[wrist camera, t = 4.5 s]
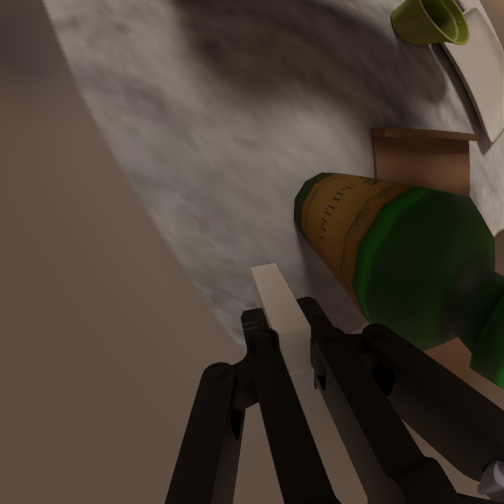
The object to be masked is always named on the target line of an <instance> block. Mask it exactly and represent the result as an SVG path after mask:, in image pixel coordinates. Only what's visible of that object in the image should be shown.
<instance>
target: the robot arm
mask: <svg viewBox="0 0 504 504" xmlns="http://www.w3.org/2000/svg"><path fill="white" fill-rule="evenodd" d="M251 273H252V280H253V286H254V292H255V298H256V305H257V309H252V310H247V311H243V313H242V316H241V322H242V327H243V332H244V336H245V341H246V346H247V354H246V356H245V357H244V359H243V360H241V361H240V362H238V363H236V364H234V365H230V364H228V363H223V362H219V363H214V364H212V365H210V366H208V367H207V368H206V369H205V370H204V372H203V374H202V377H201V380H200V384H199V387H198V390H197V394H196V397H195V401H194V404H193V407H192V411H191V414H190V418H189V421H188V424H187V428H186V431H185V434H184V438H183V441H182V445H181V448H180V452H179V455H178V459H177V462H176V466H175V469H174V473H173V476H172V480H171V483H170V487H169V491H168V494H167V497H166V501H165V504H232V503H233V497H234V490H235V483H236V476H237V469H238V462H239V455H240V448H241V441H242V433H243V426H244V418H245V409H246V408H248V407H250V406H252V405H254V404H256V403H258V402H259V404H260V408H261V413H262V417H263V421H264V426H265V429H266V434H267V438H268V442H269V446H270V450H271V454H272V458H273V462H274V466H275V470H276V474H277V478H278V481H279V485H280V489H281V493H282V497H283V500H284V504H341V503H340V501H339V500H338V499H337V498H336V496H335V494H334V492H333V489H332V487H331V484H330V481H329V479H328V476H327V474H326V471H325V468H324V466H323V463H322V460H321V458H320V455H319V452H318V450H317V448H316V444H315V442H314V439H313V436H312V434H311V431H310V429H309V426H308V423H307V420H306V418H305V415H304V413H303V410H302V407H301V404H300V402H299V399H298V396H297V394H296V391H295V388H294V386H293V383H292V380H291V376H295V375H299V374H303V373H306V372H310V371H311V364H312V366H313V368H314V387H315V389H317V385H318V387H319V389H320V391H321V394H322V396H323V398H324V400H325V403H326V405H327V407H328V409H329V412H330V414H331V416H332V418H333V421H334V423H335V425H336V427H337V430H338V432H339V434H340V436H341V439H342V441H343V443H344V445H345V447H346V450H347V452H348V454H349V457H350V459H351V461H352V463H353V466H354V468H355V470H356V473H357V475H358V477H359V479H360V481H361V484H362V486H363V488H364V491H365V493H366V495H367V499H368V504H504V411H503V410H502V409H501V408H499V407H498V406H497V405H495V404H494V403H493V402H491V401H490V400H489V399H487V398H486V397H484V396H483V395H482V394H480V393H479V392H478V391H476V390H475V389H474V388H472V387H471V386H469V385H468V384H467V383H466V382H464V381H463V380H461V379H460V378H458V377H457V376H456V375H454V374H453V373H452V372H450V371H449V370H448V369H446V368H445V367H443V366H442V365H441V364H439V363H438V362H436V361H435V360H434V359H432V358H431V357H429V356H428V355H427V354H425V353H424V352H422V351H421V350H420V349H418V348H417V347H415V346H414V345H413V344H411V343H410V342H408V341H407V340H406V339H404V338H403V337H401V336H400V335H398V334H397V333H396V332H394V331H393V330H391V329H390V328H388V327H387V326H385V325H383V324H378V323H377V324H370V325H368V326H366V327H365V328H364V329H363V331H362V334H345V333H344V332H343V331H342V330H341V329H339V328H336V327H333V325H332V324H331V322H330V321H329V319H328V318H327V316H326V315H325V313H324V312H323V310H322V309H321V307H320V306H319V304H318V303H317V301H316V300H314V299H313V298H311V297H304V298H300V299H295V298H294V296H293V294H292V292H291V291H290V289H289V287H288V285H287V283H286V282H285V280H284V278H283V276H282V275H281V273H280V271H279V269H278V267H277V266H276V264H275V263H272V264H267V265H262V266H256V267H251ZM400 418H401V419H403V420H404V421H405V422H406V423H407V424H408V425H409V426H410V427H411V428H412V429H413V430H414V431H416V433H418V434H419V435H420V436H421V437H422V438H423V439H424V440H425V441H426V442H428V443H429V444H430V445H431V446H432V447H433V448H434V449H435V450H436V451H438V452H439V453H440V454H441V455H442V456H443V457H444V458H445V459H446V460H447V461H449V462H450V463H451V464H452V465H453V466H454V467H455V468H456V469H458V470H459V471H460V472H462V473H463V474H464V475H466V476H468V477H469V478H471V479H473V480H476V481H479V482H480V484H479V485H478V488H477V490H478V493H479V494H486V495H487V496H489V497H490V499H491V500H487V499H482V498H477V497H472V496H468V495H464V494H460V493H456V490H455V489H454V487H453V486H452V484H451V482H450V480H449V479H448V477H447V475H446V474H445V472H444V470H443V469H442V467H441V465H440V464H439V463H438V462H437V460H435V459H433V458H430V457H425V456H424V455H423V454H422V453H421V451H420V450H419V448H418V446H417V444H416V443H415V441H414V439H413V438H412V436H411V435H410V433H409V431H408V430H407V428H406V426H405V425H404V423H403V422H402V420H401V419H400Z"/></svg>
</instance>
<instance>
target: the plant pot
mask: <svg viewBox="0 0 504 504" xmlns="http://www.w3.org/2000/svg"><path fill="white" fill-rule="evenodd" d="M391 18H392V26H393V28H394V29H395V31H396V32H397V34H398V35H399V36H400V37H401V38H402V39H403V40H404V41H406V42H408V43H411V44H413V45H424V44H431V43H441V42H448V43H454V44H456V45H465V44H467V42H468V41H469V28H468V24H467V21H466V19H465V17H464V15H463V13H462V11H461V10H460V8H459V7H458V5H457V4H456V3H455V1H454V0H406V1H405V2H404V3H402V4H401V5H400V6H399V7H398V8H397V9H395V10H394V11H393V12H392V14H391Z"/></svg>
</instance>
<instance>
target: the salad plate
mask: <svg viewBox="0 0 504 504" xmlns="http://www.w3.org/2000/svg"><path fill="white" fill-rule="evenodd" d="M463 15H464V17H465V19H466V21H467V24H468V28H469V41H468V42H467V44H465V45H456V44H454V43H448V42H441V43H440V44H441V46H442V47H443V49H444V51H445V52H446V54H447V55H448V57H449V59H450V60H451V62H452V64H453V65H454V67H455V69H456V71H457V73H458V75H459V77H460V78H461V80H462V82H463V84H464V86H465V88H466V90H467V92H468V95H469V97H470V99H471V101H472V104H473V106H474V108H475V111H476V113H477V116H478V119H479V121H480V124H481V126H482V129H483V131H484V133H485V135H486V137H487V138H488V140H489V141H490V142H491V143H493V142H494V141H495V140H496V139H497V137H498V136H499V134H500V133H501V132H502V130H503V129H504V53H503V51H502V49H501V47H500V45H499V44H498V42H497V40H496V38H495V36H494V34H493V33H492V31H491V29H490V27H489V26H488V24H487V22H486V21H485V19H484V17H483V16H482V14H481V13H480V11H479V10H478V9H477V8H476V7H472V8H470V9H468V10H467V11H465V12H463Z"/></svg>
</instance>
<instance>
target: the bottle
mask: <svg viewBox="0 0 504 504" xmlns="http://www.w3.org/2000/svg"><path fill="white" fill-rule="evenodd" d="M294 220H295V222H296V223H297V225H298V227H299V229H300V231H301V233H302V235H303V236H304V238H305V239H306V240H307V241H308V243H309V244H310V245H311V246H312V248H313V249H314V250H315V251H316V253H317V254H318V255H319V257H320V258H321V259H322V260H323V262H324V263H325V264H326V266H327V267H328V268H329V270H330V271H331V272H332V273H333V275H334V276H335V277H336V279H337V280H338V281H339V283H340V284H341V285H342V287H343V288H344V289H345V291H346V292H347V293H348V295H349V296H350V297H351V299H352V300H353V302H354V303H355V304H356V306H357V307H358V308H359V310H360V311H361V313H362V314H363V315H364V317H365V318H366V320H367V321H368V322H369V324H377V323H378V324H383V325H385V326H387V327H388V328H390V329H391V330H393V331H394V332H396V333H397V334H398V335H400V336H401V337H403V338H404V339H406V340H407V341H408V342H410V343H411V344H413V345H414V346H415V347H417V348H418V349H420V350H421V351H425V350H428V349H430V348H433V347H436V346H439V345H442V344H444V343H446V342H449V341H451V340H453V339H455V338H456V337H459V339H460V340H461V341H462V342H463V343H464V344H465V346H466V347H467V348H468V349H469V350H470V352H471V353H472V357H471V362H470V368H471V369H472V370H474V371H475V372H477V373H479V374H480V375H482V376H483V377H485V378H486V379H488V380H489V381H491V382H493V383H494V384H496V385H497V386H499V387H500V388H503V389H504V276H503V275H500V274H498V273H496V272H495V242H494V237H493V235H492V233H491V231H490V230H489V228H488V226H487V224H486V222H485V221H484V219H483V217H482V216H481V214H480V212H479V211H478V209H477V207H476V206H475V204H474V203H473V201H472V199H471V198H470V197H468V196H464V195H460V194H455V193H451V192H447V191H442V190H437V189H433V188H428V187H423V186H418V185H412V184H407V183H401V182H395V181H389V180H383V179H376V178H370V177H363V176H355V175H347V174H338V173H323V172H322V173H320V174H318V175H316V176H315V177H313V178H311V179H309V180H307V181H305V183H304V185H303V186H302V188H301V190H300V191H299V193H298V194H297V196H296V198H295V206H294Z"/></svg>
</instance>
